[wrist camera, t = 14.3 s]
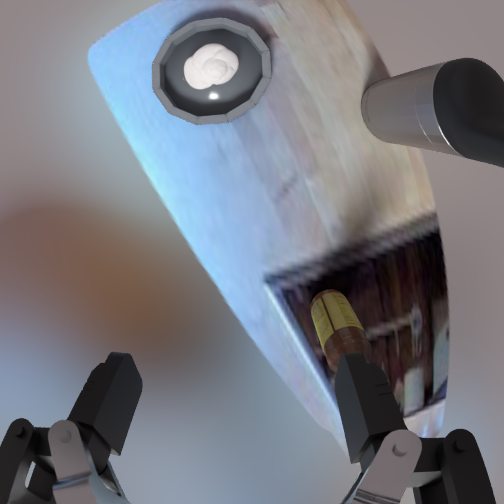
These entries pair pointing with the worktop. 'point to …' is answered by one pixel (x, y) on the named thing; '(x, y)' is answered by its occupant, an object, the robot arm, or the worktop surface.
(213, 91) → the round dish
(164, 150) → the worktop surface
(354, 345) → the sauce bottle
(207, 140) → the worktop surface
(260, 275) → the worktop surface
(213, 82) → the dumpling
